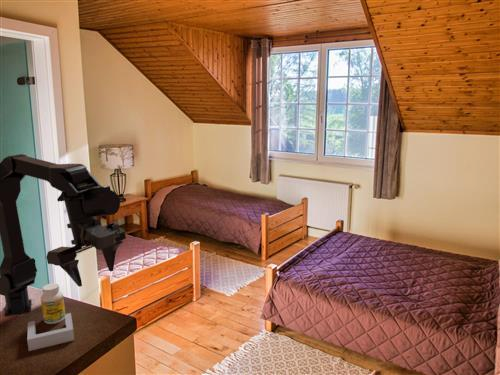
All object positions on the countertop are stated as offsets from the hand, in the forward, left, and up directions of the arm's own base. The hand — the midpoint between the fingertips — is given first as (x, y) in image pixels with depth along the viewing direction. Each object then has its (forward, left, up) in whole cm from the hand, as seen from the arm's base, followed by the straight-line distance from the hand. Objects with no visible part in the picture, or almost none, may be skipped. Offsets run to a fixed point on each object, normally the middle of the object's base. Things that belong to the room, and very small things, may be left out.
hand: (96, 278), depth 103 cm
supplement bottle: (-12, -10, -15) cm, 22 cm away
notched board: (-4, -11, -15) cm, 19 cm away
